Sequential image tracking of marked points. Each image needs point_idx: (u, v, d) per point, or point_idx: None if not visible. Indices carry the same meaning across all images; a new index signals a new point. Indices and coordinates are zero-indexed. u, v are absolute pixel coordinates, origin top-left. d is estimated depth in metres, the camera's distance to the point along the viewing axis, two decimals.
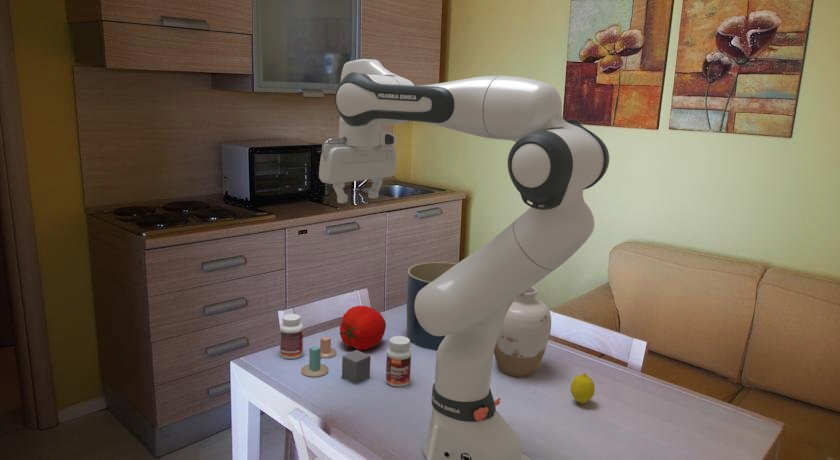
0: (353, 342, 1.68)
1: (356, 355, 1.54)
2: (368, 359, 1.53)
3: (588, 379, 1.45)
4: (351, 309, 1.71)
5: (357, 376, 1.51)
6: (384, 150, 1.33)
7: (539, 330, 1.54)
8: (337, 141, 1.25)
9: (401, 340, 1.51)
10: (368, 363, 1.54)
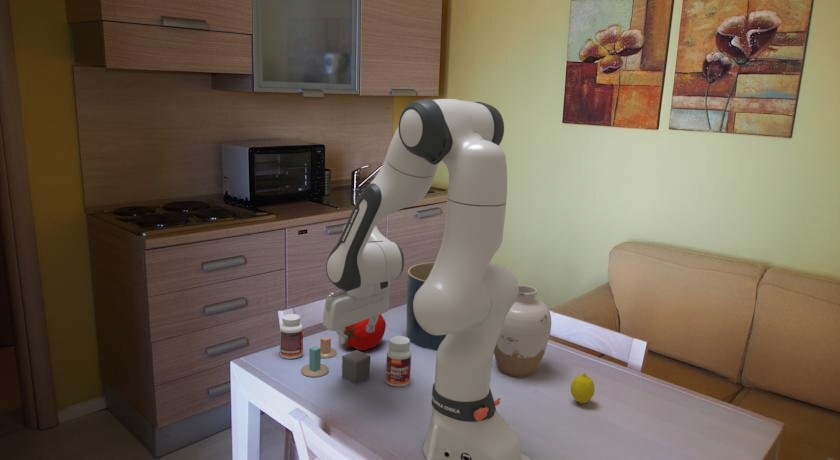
0: (353, 342, 1.68)
1: (356, 355, 1.54)
2: (368, 359, 1.53)
3: (588, 379, 1.45)
4: None
5: (357, 376, 1.51)
6: (379, 293, 1.52)
7: (539, 330, 1.54)
8: (338, 293, 1.44)
9: (401, 340, 1.51)
10: (368, 363, 1.54)
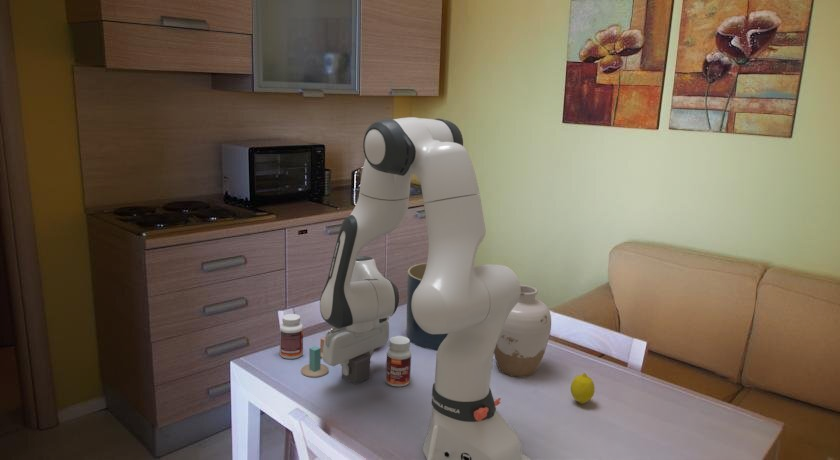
0: None
1: None
2: (368, 359, 1.53)
3: (588, 379, 1.45)
4: None
5: (357, 376, 1.51)
6: (378, 327, 1.54)
7: (539, 330, 1.54)
8: (338, 329, 1.46)
9: (401, 340, 1.51)
10: (368, 363, 1.54)
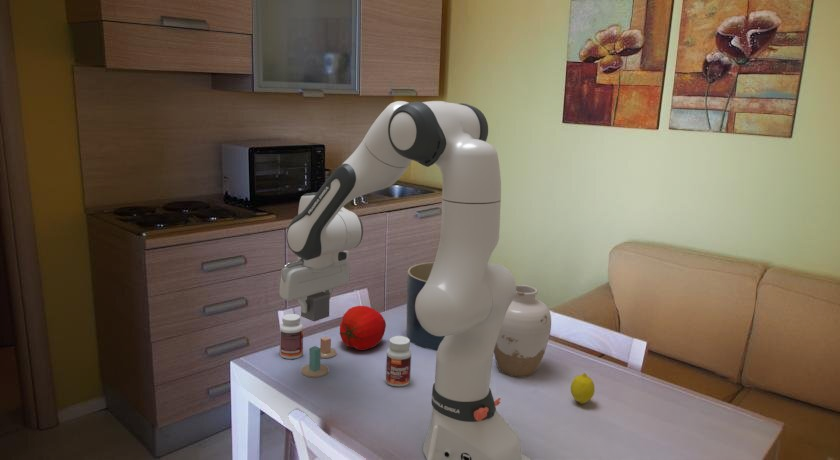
0: (353, 342, 1.68)
1: None
2: (327, 297, 1.52)
3: (588, 379, 1.45)
4: (351, 309, 1.71)
5: (315, 313, 1.50)
6: (337, 265, 1.53)
7: (539, 330, 1.54)
8: (295, 264, 1.45)
9: (401, 340, 1.51)
10: (327, 302, 1.53)
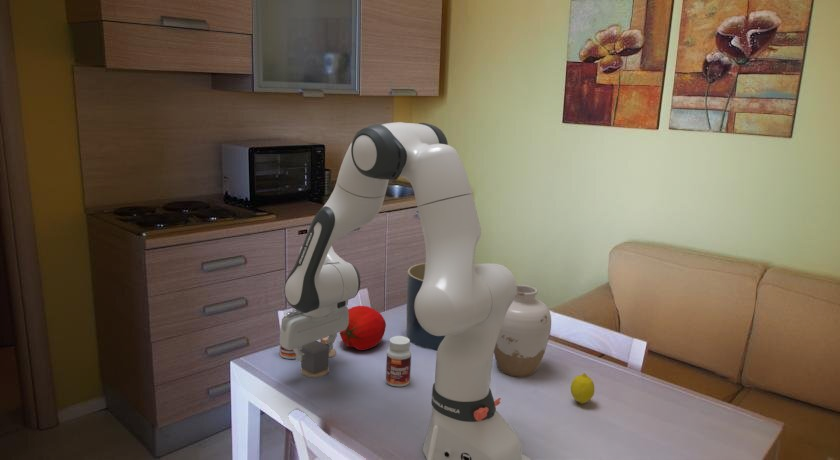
0: (353, 342, 1.68)
1: (315, 345, 1.56)
2: (326, 349, 1.56)
3: (588, 379, 1.45)
4: (351, 309, 1.71)
5: (315, 366, 1.53)
6: (337, 312, 1.56)
7: (539, 330, 1.54)
8: (295, 313, 1.48)
9: (401, 340, 1.51)
10: (326, 353, 1.56)
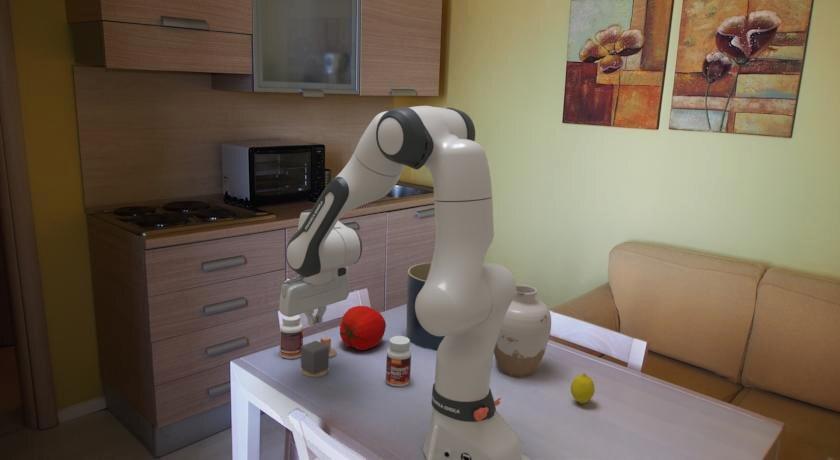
0: (353, 342, 1.68)
1: (315, 345, 1.56)
2: (326, 349, 1.56)
3: (588, 379, 1.45)
4: (351, 309, 1.71)
5: (315, 366, 1.53)
6: (337, 280, 1.54)
7: (539, 330, 1.54)
8: (295, 280, 1.46)
9: (401, 340, 1.51)
10: (326, 353, 1.56)
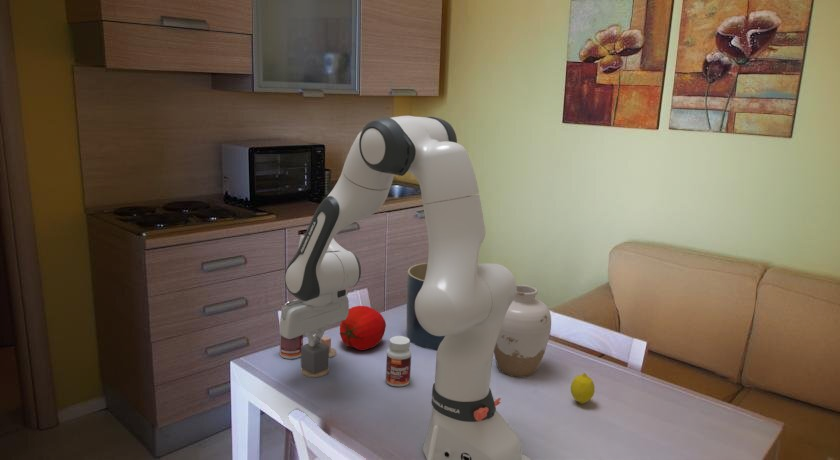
0: (353, 342, 1.68)
1: (315, 345, 1.56)
2: (326, 349, 1.56)
3: (588, 379, 1.45)
4: (351, 309, 1.71)
5: (315, 366, 1.53)
6: (337, 301, 1.55)
7: (539, 330, 1.54)
8: (294, 302, 1.47)
9: (401, 340, 1.51)
10: (326, 353, 1.56)
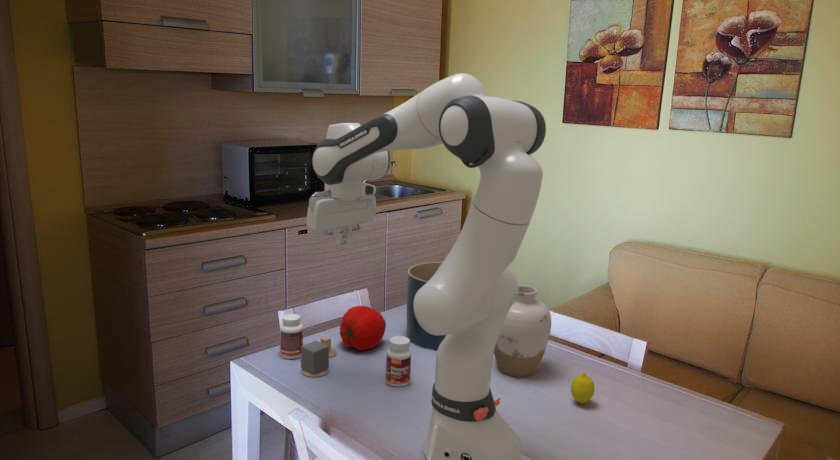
0: (353, 342, 1.68)
1: (315, 345, 1.56)
2: (326, 349, 1.56)
3: (588, 379, 1.45)
4: (351, 309, 1.71)
5: (315, 366, 1.53)
6: (364, 199, 1.50)
7: (539, 330, 1.54)
8: (322, 194, 1.42)
9: (401, 340, 1.51)
10: (326, 353, 1.56)
